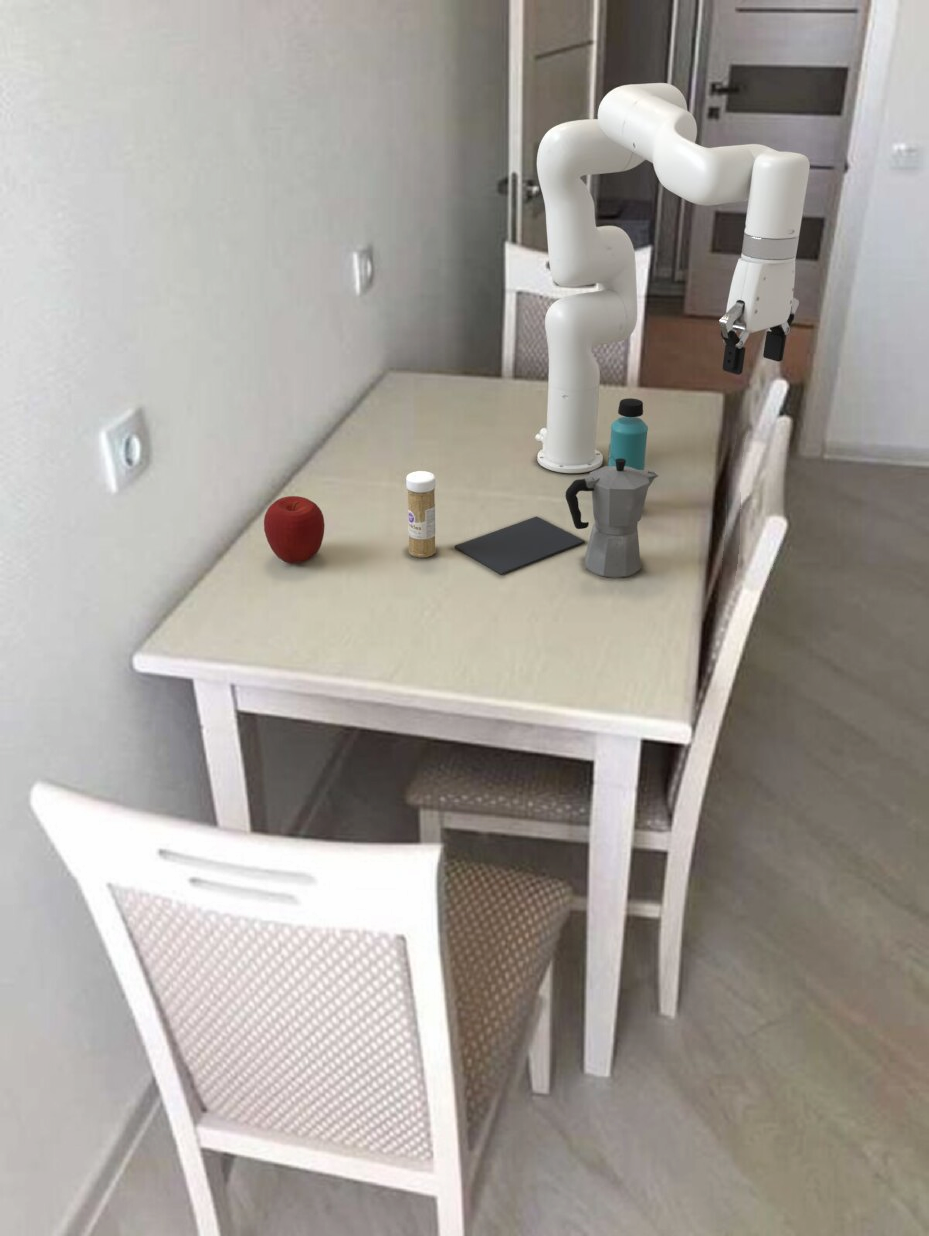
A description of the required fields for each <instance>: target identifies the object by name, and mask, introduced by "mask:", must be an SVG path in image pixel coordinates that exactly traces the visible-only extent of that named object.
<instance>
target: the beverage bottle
mask: <svg viewBox="0 0 929 1236" xmlns="http://www.w3.org/2000/svg"><path fill="white" fill-rule="evenodd" d="M617 414H618V415H619V416H620V417H618V418H617V419H616V420H615V421H613V422H612V423H611V425H610V439H609V444H608V447H609V450H608V453H607V454H608V459H607V460H608V466H616V461H615V459H618V458H622V459H625V460H626V463H625V466H627V467H631V468H634V469H637V470H645V466H646V465H645V461H646V452H647V451H646V450H647V441H648V431H649V426H648V424H647V423H646V422H645V421H644V420H642V418H640V417H641V416H643V415H644V402H643V400H641V399H638V398H632V397H631V398H630V397H629V398H622V399H621V400H620V401H619V405H618V409H617Z"/></svg>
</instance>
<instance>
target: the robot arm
mask: <svg viewBox="0 0 929 1236" xmlns="http://www.w3.org/2000/svg"><path fill="white" fill-rule="evenodd" d="M597 110H598V111H597V118H592V119H591V118H590V119H589V118H588V119H577V120H570V121H565V122H563V123H560V124H557V125H555V126H553V127H551V128H549V130H548V131H547V132H546V133H545V134H544V136H543V137H542V139H541V141H540V143H539V146H538V150H537V155H536V171H537V177H538V182H539V183H538V184H539V187H540V189H541V190H540V191H541V193H542V197H543V202H544V209H545V225H546V238H547V239H546V240H547V253H548V263H549V271H550V276H551V277H552V280H553V281H554V283H555V284H556V285H558V286H560V287H564V288H575V287H584V286H588V285H596V284H597V289H598V290H597V291H588V292H581V293H576V294H571V295H568V296H564V297H562V298H559V299H557V300H556V301H554V302H553V303H552V304H551V305H550V306H549V308H547V311H546V314H545V317H544V329H545V336H546V342H547V351H548V352H547V353H548V378H547V381H548V383H547V384H548V386H547V407H546V410H547V411H546V427H542V428H541V429H540V430H539V433H537V434H536V435H535V437H534V440H535V441H537V442H539V443H542V449H540V450H539V451H538V453H537V462H538V464H539V466H541V467H543V468H544V469H547V470H549V471H553V472H557V473H563V474H582V473H588V472H589V473H590V472H592V471H595V470H597V469H599V468H601V466H602V465H603V462H604V456H603V453H601V452H600V451H599V450H598V449H596V445H597V429H598V415H599V402H600V401H599V398H600V384H601V383H600V382H601V372H600V366H599V364H598V362H597V360H596V358H595V356H594V354H593V351H592V349H593V348H596V347H599V346H604V345H608V344H613V343H617V342H621V341H624V340H626V339H628V338H629V337H630V336H631V335H632V334H633V333H634V332H635V331H634V330H635V329H636V326H637V323H638V322H637V321H638V289H637V288H638V287H637V265H636V254H635V249H634V244H633V242H632V240H631V238H630V236H629V234H628V233H627V232H626V231H624V229H622V228H621V227H618V226H615V225H603V226H602V225H601V226H597V225H596V215H595V213H596V212H595V202H594V199H593V196H592V193H591V192H590V189H589V188H588V186H587V185H586V183H585V182H584V180H582V179H581V178H582V177H584V176H589V175H590V176H591V175H600V174H601V175H602V174H611V173H612V174H613V173H621V172H626V171H629V170H631V169H634V168H637V167H638V166H639V165H641V164H642V163H643V162H645V161H647V162H650V163H651V164H652V165H653V170H654V172H655V175H656V177H657V179H658V181H659V182H660V185H662V186H663V187H664V188H665V189H666V190H668V191H669V192H671V193H672V194H675V195H677V196H678V197H680V198H682V199H683V200H685V201H688V202H690V203H692V204H695V205H699V206H706V207H707V206H708V207H709V206H716V205H725V204H730V203H732V204H733V203H742V202H747V209H746V218H745V224H744V225H745V227H744V233H743V240H742V248H741V255H740V258H738V260H737V263H736V265H735V269H734V272H733V275H732V280H731V284H730V289H729V294H728V298H727V304H726V310H725V314H723V315H722V317H720V319H719V320H718V321H719V322H718V323H719V328H720V336H721V338H722V342H723V345H725V346H724V354H723V361H722V371H724V372H727V373H731V374H734V375H736V376H738V375H741V374H743V369H744V362H745V356H746V347H744V346H745V343H746V341H747V340H748V338H749V336H750V335H751V334H753V333H757V332H760V331H765V330H767V331H766V334H765V340H764V346H763V353H762V357H763V358H764V359H768V360H771V361H774V362H777V363H779V362H782V361H783V360H784V354H785V346H786V341H787V336H788V335H789V333H790V330H791V329H790V326H791V324H792V323H793V322H794V320H795V314H796V312H797V309H798V307H799V305H800V301H799V299H798V298H796V297H794V291H795V280H796V258H797V251H798V246H799V239H800V232H801V226H802V220H803V213H804V206H805V201H806V194H807V188H808V182H809V176H810V175H809V174H810V169H811V167H810V166H811V165H810V160H809V158H808V157H807V155H804V154H803V153H798V152H794V151H793V152H792V151H780V150H776V149H774V148H771V147H769V146H767V145H764V144H758V143H749V144H748V143H747V144H737V145H736V144H735V145H725V146H716V147H705V146H702V145H700V144H697V143H696V140H697V136H698V126H697V125H698V124H697V122H696V119H695V117H694V116H693V114H692V113H691V112H690V111H689V110H688V104H687V101H686V98H685V97H684V94H683V93H682V92H681V91H680V89H679V88H677V87H676V86H675V85H673V84H671V83H668V82H667V83H665V82H654V83H653V82H652V83H635V84H633V83H630V84H624V85H620V86H618V87H614V88H612V90H610V91H608V93H606V94H605V96H604V97H603V99H602V100H601V101H600V103H599V106H598V109H597ZM768 329H769V330H768ZM738 332H741V333H740V334H739V336H738V334H737V333H738Z"/></svg>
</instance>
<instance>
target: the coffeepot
mask: <svg viewBox="0 0 929 1236" xmlns="http://www.w3.org/2000/svg"><path fill="white" fill-rule="evenodd" d="M615 461H616V466H609V465H605V466H602V467H599V468H597V469H595V470H592V471H589V476H588V477H583V478H580V479H575V480H573V481H572V482H571V483H570V485H569V486H568V487H567V489H566V491H565V501H566V502H567V505H568V510H569V513H570V515H571V518H572V522H573V525H574V528H576V530H584V529H588V527H589V525H590V522H589V521H586V522H585V521H584V522H583V521H582V512H581V510H580V508H579V498H578V496H577V495H578V493H579V492H591V501H592V513H593V519H594V523H593V524H592V527H591V530H590V531H591V532H590V536H589V539H588V543H587V547H586V551H585V556H584V561H585V562H584V563H585V564H584V565H585V568H586V569H587V570H588V571H589V572H591V573H592V574H595V575H597V576H600V577H604V578H612V579H613V578H614V579H618V578H619V579H620V578H626V577H627V578H628V577H630V576H633V575H635V574H636V573H637V572H639V571H640V570H641V569H642V566H641V565H642V564H641V553H640V542H639V530H638V525H639V524H638V523H639V521H641V518H642V514H643V510H644V508H645V507H644V506H645V502H646V499H647V494H648V490H649V488H650V486H651V485H652V483H653V482H654V481H655V479H656V478H659V474H657V473H656V472H655V471H652V470H651V471H650V470H648V469H644V470H637V469H634V468H631V467H627V466H625V463H626V460H625V459H622V458H618V459H615Z"/></svg>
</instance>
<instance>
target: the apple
mask: <svg viewBox="0 0 929 1236" xmlns="http://www.w3.org/2000/svg"><path fill="white" fill-rule="evenodd" d="M324 517H325V516H324V514H323V511H322V510H321V508H320V507H319V506H318V504H317V503H315V502H314V501H312V500H311V499H308V498H306V497H303V496H297V495H290V496H284V497H281V498H278V499H276V500H275V501H274V502H273V503H272V504H270V505H269V507H268V508H267V510H266V512H265V514H264V517H263V518H264V519H263V531H264V535H265V538H266V541H267V543H268V545H269V546H270V548H271V550H272V552H273V553H274V555H275V556H276V557H277V558H278V559H280V560H281V561H283V562H285V563H288V564H289V563H290V564H297V563H303V562H307V561H309V560H311V559H312V558H314V556H315V557H316V555H317V554H318V552H319V550H320V548H321V547H322V543H323V540H324V536H325V535H324V534H325V527H326V526H325V518H324Z"/></svg>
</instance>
